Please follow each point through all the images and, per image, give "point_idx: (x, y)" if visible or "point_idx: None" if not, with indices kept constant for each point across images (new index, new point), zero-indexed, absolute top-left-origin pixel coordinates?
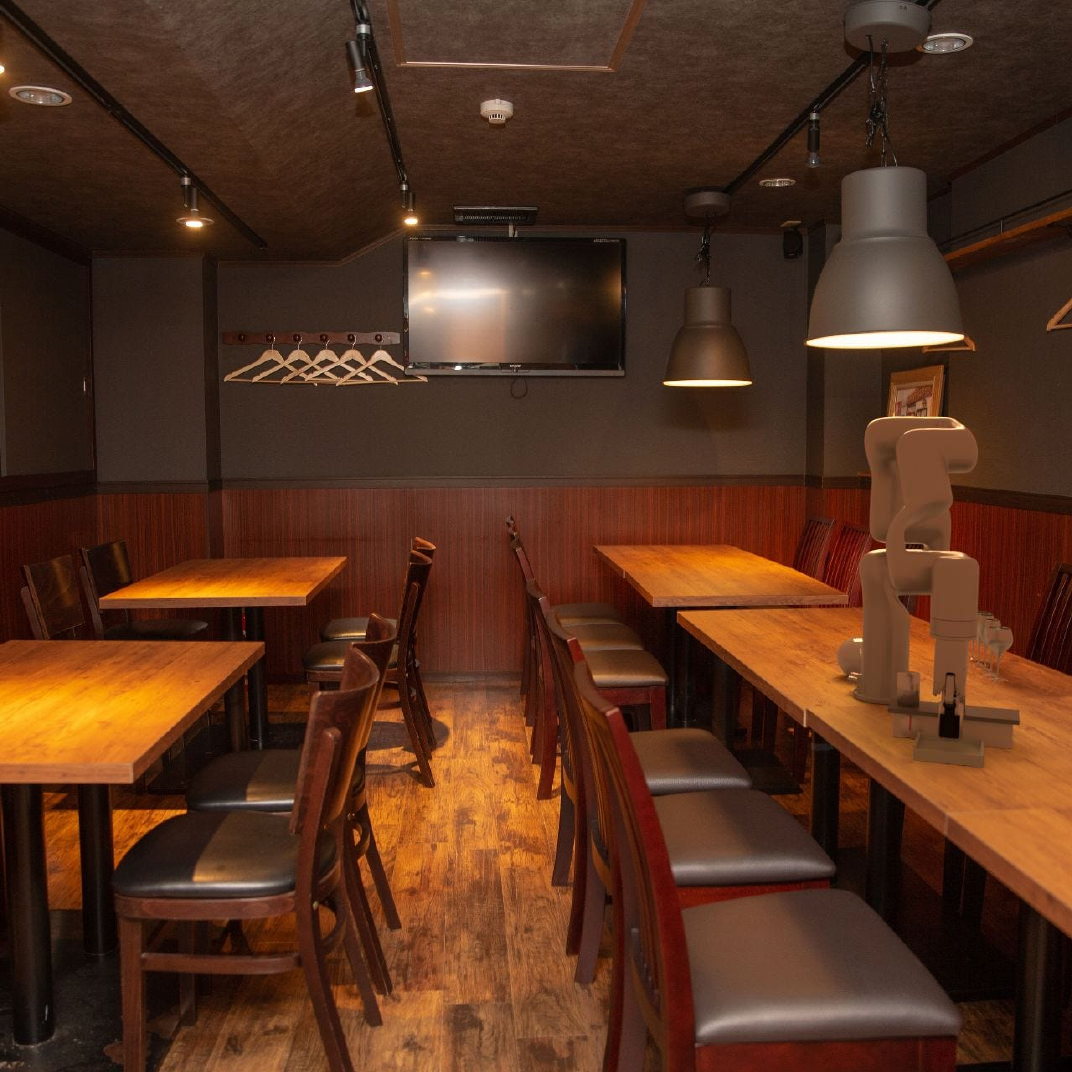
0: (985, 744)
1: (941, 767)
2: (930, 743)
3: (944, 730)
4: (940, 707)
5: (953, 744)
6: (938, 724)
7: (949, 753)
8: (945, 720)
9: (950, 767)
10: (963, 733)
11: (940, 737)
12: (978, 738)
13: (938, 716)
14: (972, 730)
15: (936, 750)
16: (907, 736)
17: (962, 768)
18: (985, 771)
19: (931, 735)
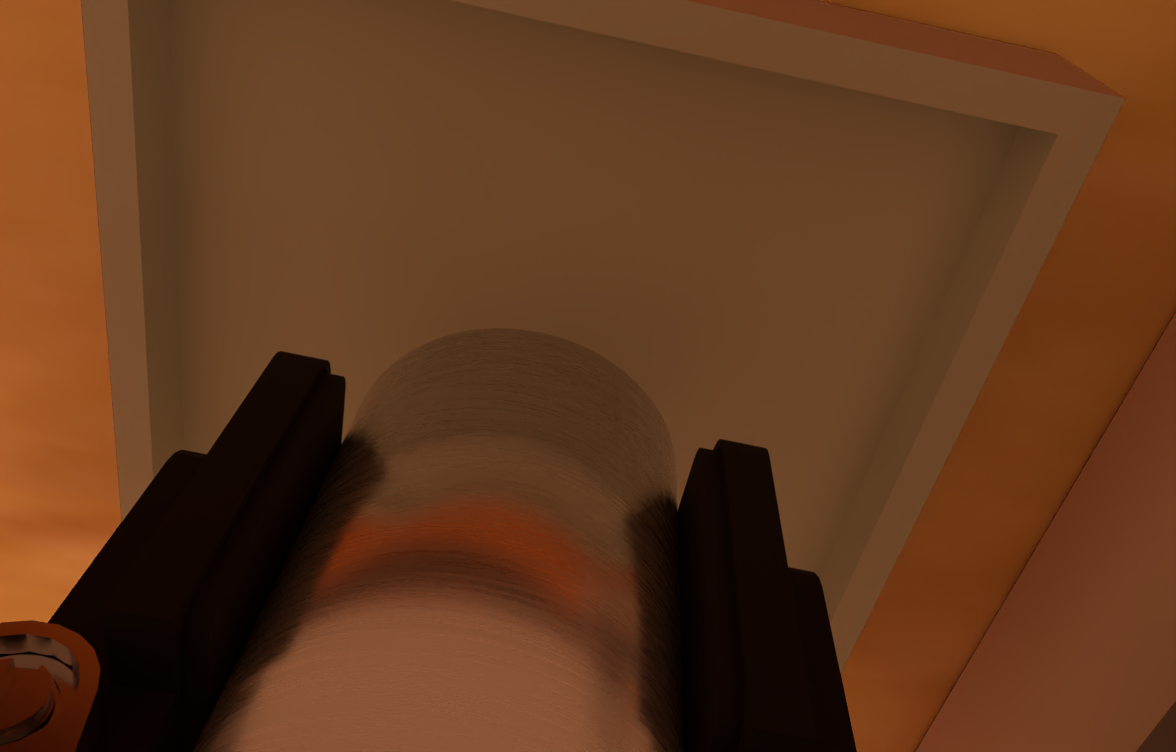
0: (950, 712)
1: (3, 184)
2: (784, 212)
3: (167, 468)
4: (260, 741)
5: (773, 461)
6: (434, 448)
7: (114, 346)
8: (75, 601)
9: (55, 278)
10: (1077, 638)
11: (409, 359)
12: (992, 713)
13: (426, 547)
14: (1047, 741)
15: (113, 213)
16: None
17: (80, 382)
18: (84, 542)
19: (986, 279)
